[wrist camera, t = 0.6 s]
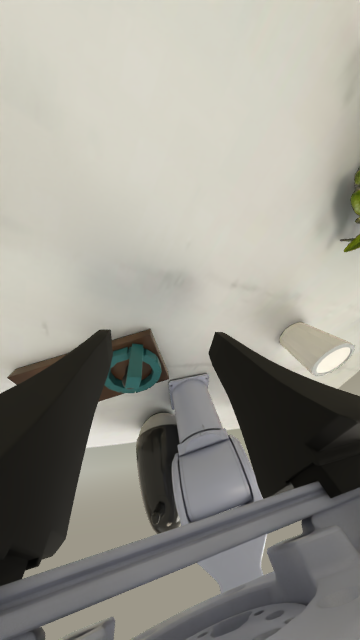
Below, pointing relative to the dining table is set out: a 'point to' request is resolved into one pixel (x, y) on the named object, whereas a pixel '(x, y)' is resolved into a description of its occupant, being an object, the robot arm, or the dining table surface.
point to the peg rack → (117, 370)
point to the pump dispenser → (158, 470)
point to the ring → (134, 369)
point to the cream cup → (316, 348)
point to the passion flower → (359, 206)
